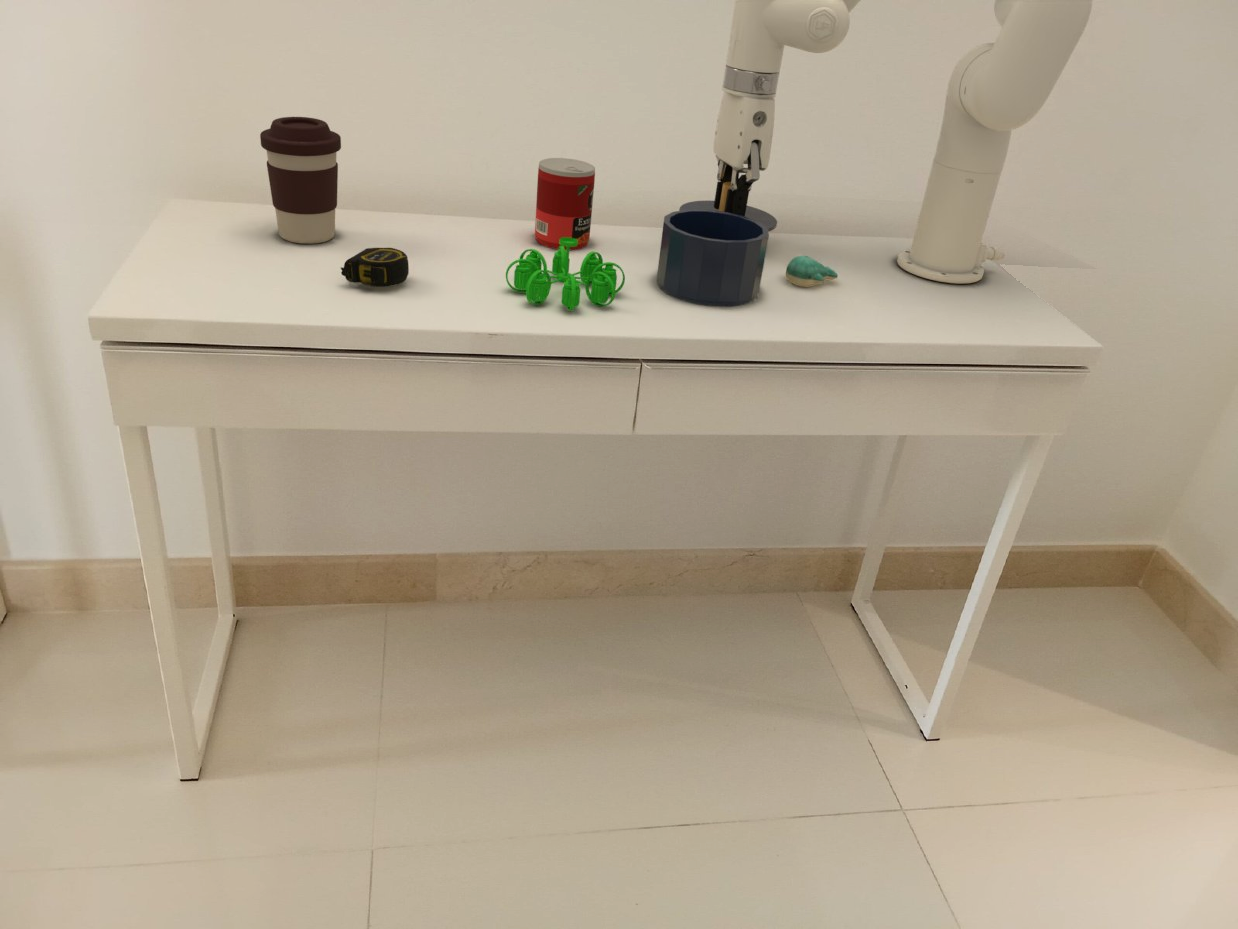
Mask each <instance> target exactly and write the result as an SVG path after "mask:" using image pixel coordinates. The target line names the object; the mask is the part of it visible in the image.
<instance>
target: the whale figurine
mask: <svg viewBox="0 0 1238 929" xmlns="http://www.w3.org/2000/svg"><path fill="white" fill-rule="evenodd" d="M838 277H839V276H838V274H837V272H836V271H835V270H834V269H832V268H831V267H829V266H825V265H823V263H821V262H819V261H818V260H815V259H814V258H812V257H810V256H808V255H805V254H803V255H798V256H795V257H793V258H792V259H790V261H789V262H788V264H787V266H786V270H785V278H786V279H787V281H789V282H791V283H792V284H794V285H795V286H800V287H804V288H810V287H813V286H816V285H821V284H823V283H824V281H827V280H828V281H834V280H836V279H838Z"/></svg>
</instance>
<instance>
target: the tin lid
mask: <svg viewBox="0 0 1238 929" xmlns="http://www.w3.org/2000/svg"><path fill="white" fill-rule="evenodd" d="M728 189H731V182H724V183H723V187H722V193H721V199H720V205H719V209H715V208H714V201H715V200H694V201H689V202H686V203H683V204H682V205H680V207H679V210H678V211H682V210H688V209H689V210H713V211H722V212H724V210H725V203H726V197H727V191H728ZM745 217H747V218H750V219H753V220H755V221H758V222H760V223H761V224H763V225H764V226H765V227H767V228H768V232H769V233H770V232H772V231H774V230H775V229H776V228H777V225H778V220H777V218H775V217H774V216H773V215H772V214H771V213H769V212H767V211H765V210H763V209H759V208H757V207H754V206H750V205H747V207H746V212H745Z"/></svg>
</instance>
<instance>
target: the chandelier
mask: <svg viewBox="0 0 1238 929" xmlns="http://www.w3.org/2000/svg"><path fill="white" fill-rule="evenodd" d="M559 244H560V245H562V246H559V248H558V249H557V251H555V252H554V253H553V257H552V266H551V270H549V269H548V265H547V261H546V259H545V257H544V255H543V254H542V253H541V252H540V250H537V249H535V248H529V249H525V250H524V251H523V252H522V253H521V254H520V256H519V258H518V259H516V260H514V261H512V262H511V263H510V264H509V265H508V267H507V268H506V272H505V281H506V283H507V285H508V286H509V288H510V289H511V290H512V291H514V292H516V293H521V294H524V293H525V298H526V301H527V302H528V303H529V304H532V305H534V306H538V305H541V304H543V303H544V301H546V300H547V298H548V297H549V293H550V291H551V287H552V284H555V283H557V282H560V283H563V286H562V290H561V304H562V306H564V307H566V308H567V311H568V312H574V310H575V308H577V307H578V306H579V305H580V300H581V299H580V298H581V288H580V284H581V285H583V286H585V287H584V289H585V293H586V296H587V298H588V300H589V301H590V303H592V304H593V306H594V305H595V306H596V307H599V308H604V307H608V306H610V305H611V304H612V303H613V302H614V300H615V297H616V294H617V293H620V291H621V290H622V289H623V287H624V285H625V281H626V275H625V273H624V270H623V268H622V267H621V266H620V265H619V264H617V263H615V262H612V261H606V262H604V260H603V257H602V254H601V253H599V252H598V251H590V252H588V253H587V254H586V255H585V256H584V258H583V260H582V262H581V264H580V269H579V271H577V272H574V273H570V250H569V249H570V247H575V246H577V244H578V240H577V239H575V238H570V237H563V238H560V240H559ZM564 246H566V247H567V249H566V250H565V249H564ZM528 252H529V254H527V255H526V253H528ZM525 255H526V256H525ZM524 256H525V258H524ZM516 264H517V265H516ZM514 265H515V270H514V274H513V275H514V277H513V285H511V283H510V281H509V278H508V277H509V276H508V275H509V272H510V269H511V268H512V267H513V266H514ZM614 267H616V268H617V269H619V270H620V272H621V274H622V281H621V284H620V285H619V287H618V288H617V281H618V280H617V279H618V275H617V270H616V268H614ZM542 268H543V269H542ZM550 274H552V275H550ZM577 275H579V276H577ZM552 279H555V280H552ZM590 288H591V289H590ZM609 296H611V297H610V299H609Z"/></svg>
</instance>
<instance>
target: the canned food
mask: <svg viewBox="0 0 1238 929" xmlns="http://www.w3.org/2000/svg"><path fill="white" fill-rule="evenodd" d="M537 170H538V171H537V184H536V185H537V186H536V205H535V206H536V207H535V223H534V224H535V225H534V235H535V241H537V243H538V244H540V245H541V246H544V247H546V248H550V249H555V250H558V248H559V246H562V245H560V244H559V240H560V238H563V237H570V238H575V239H577V240H578V244H577V246H575V247H570V249H569V251H574V250H581V249H583V248H585V247H587V246H588V244H589V241H590V238H591V237H590V236H591V227H592V226H591V225H592V213H593V204H594V192H595V191H594V190H595V179H596V167H595V166H594V165H593V164H591V163H589V162H587V161H583V160H579V159H574V158H565V157H550V158H549V157H548V158H544V159H542V160H540V161H539V162H538V168H537ZM564 249H565V250H566V249H567V247H566V246H564Z"/></svg>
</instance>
